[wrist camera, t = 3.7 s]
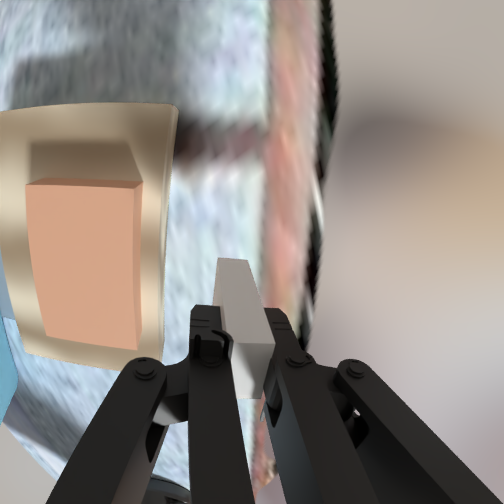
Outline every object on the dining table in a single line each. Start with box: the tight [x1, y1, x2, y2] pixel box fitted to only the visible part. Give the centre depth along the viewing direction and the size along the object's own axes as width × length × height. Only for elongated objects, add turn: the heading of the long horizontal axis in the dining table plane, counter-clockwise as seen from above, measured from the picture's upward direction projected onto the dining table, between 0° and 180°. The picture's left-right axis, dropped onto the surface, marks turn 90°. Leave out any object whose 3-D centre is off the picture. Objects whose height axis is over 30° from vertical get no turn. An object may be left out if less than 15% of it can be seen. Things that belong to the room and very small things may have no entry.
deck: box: [0, 102, 179, 371], centre depth 17 cm, size 17×11×4 cm, turn 171°
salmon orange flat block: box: [25, 178, 143, 350], centre depth 14 cm, size 9×6×2 cm, turn 171°
